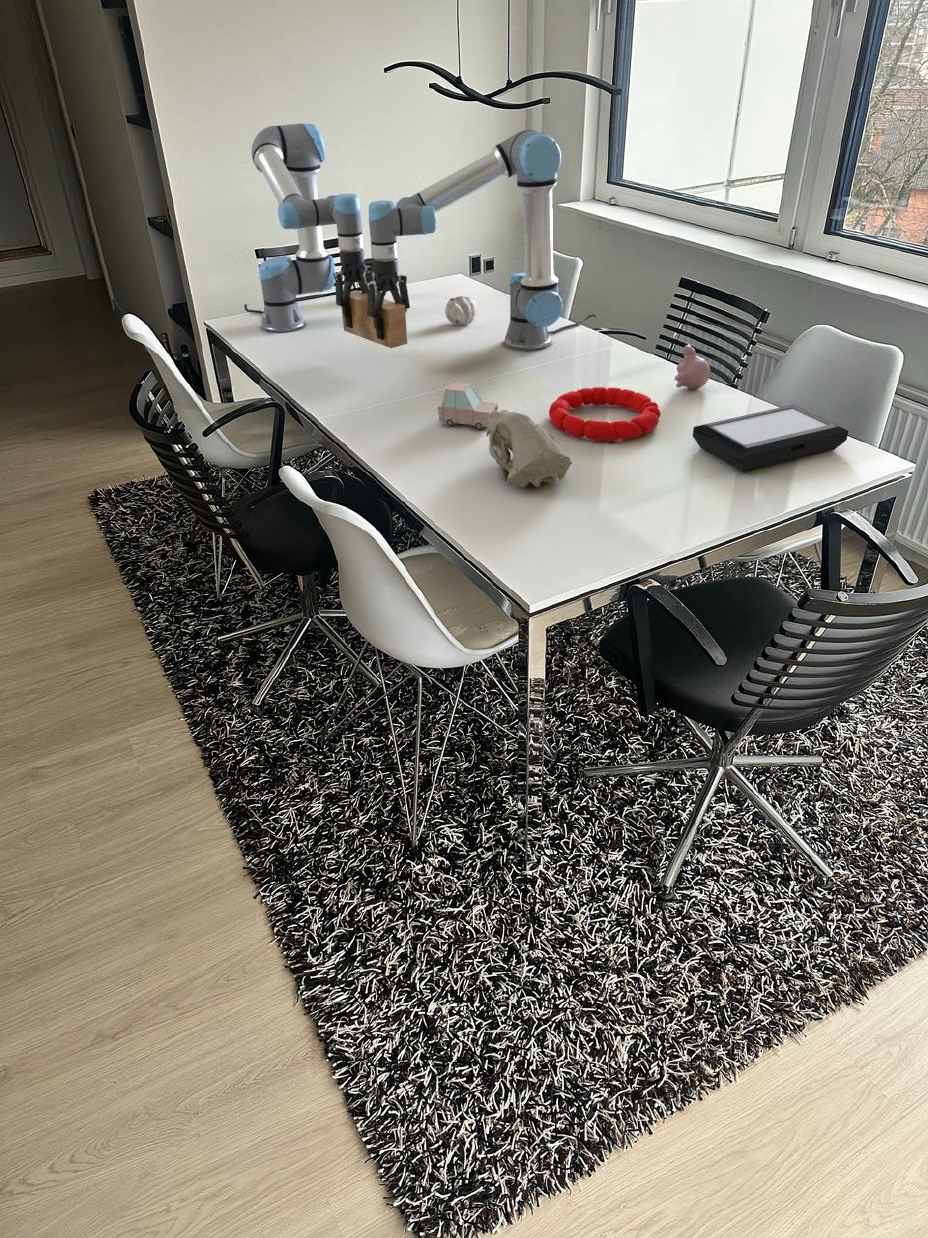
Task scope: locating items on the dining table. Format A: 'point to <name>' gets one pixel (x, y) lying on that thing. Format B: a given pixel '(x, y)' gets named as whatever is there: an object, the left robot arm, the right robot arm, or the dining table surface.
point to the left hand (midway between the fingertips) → (358, 324)
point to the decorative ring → (604, 428)
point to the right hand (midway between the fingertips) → (390, 335)
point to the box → (364, 324)
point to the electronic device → (769, 437)
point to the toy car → (465, 406)
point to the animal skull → (525, 450)
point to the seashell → (461, 310)
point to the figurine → (692, 370)
